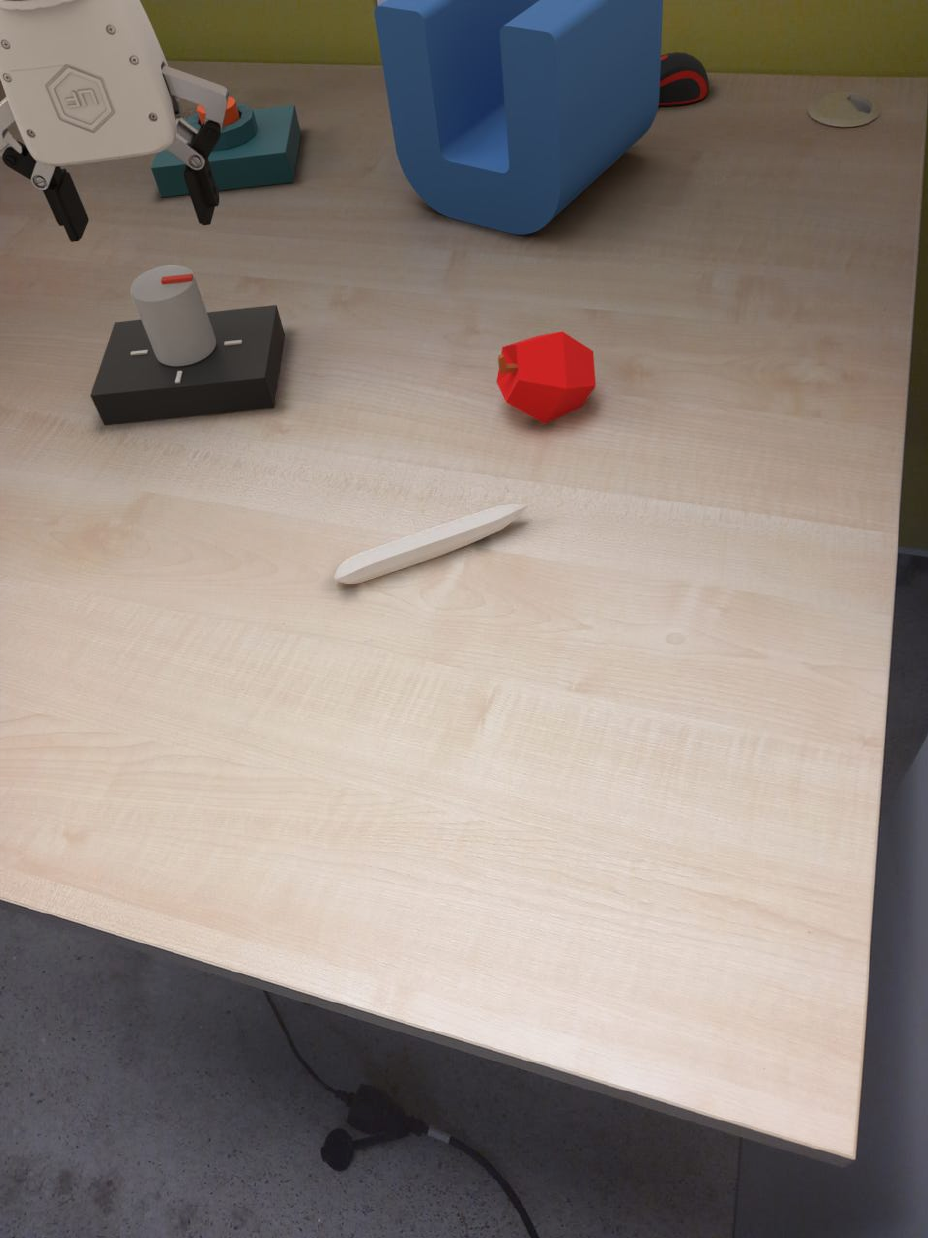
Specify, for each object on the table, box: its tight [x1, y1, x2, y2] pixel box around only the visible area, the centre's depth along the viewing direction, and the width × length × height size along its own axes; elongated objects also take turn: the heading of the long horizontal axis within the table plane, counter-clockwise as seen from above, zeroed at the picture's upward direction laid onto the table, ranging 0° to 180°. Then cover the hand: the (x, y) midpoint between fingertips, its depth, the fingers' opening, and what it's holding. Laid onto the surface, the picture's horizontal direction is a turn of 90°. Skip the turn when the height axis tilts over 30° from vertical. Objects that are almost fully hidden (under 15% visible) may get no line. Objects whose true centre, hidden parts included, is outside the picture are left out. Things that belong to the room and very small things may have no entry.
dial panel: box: [90, 304, 286, 426], centre depth 84 cm, size 14×10×3 cm
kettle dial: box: [129, 264, 216, 366], centre depth 81 cm, size 5×5×6 cm
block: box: [374, 0, 664, 235], centre depth 94 cm, size 18×18×18 cm
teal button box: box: [150, 102, 302, 198], centre depth 108 cm, size 14×11×5 cm
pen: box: [334, 503, 528, 585], centre depth 69 cm, size 2×14×2 cm, turn 111°
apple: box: [496, 331, 597, 425], centre depth 76 cm, size 7×7×8 cm
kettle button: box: [196, 96, 240, 127], centre depth 106 cm, size 4×4×2 cm
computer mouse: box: [658, 51, 710, 108], centre depth 108 cm, size 6×11×4 cm, turn 96°
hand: (144, 223), depth 75 cm, fingers open, 9 cm apart
